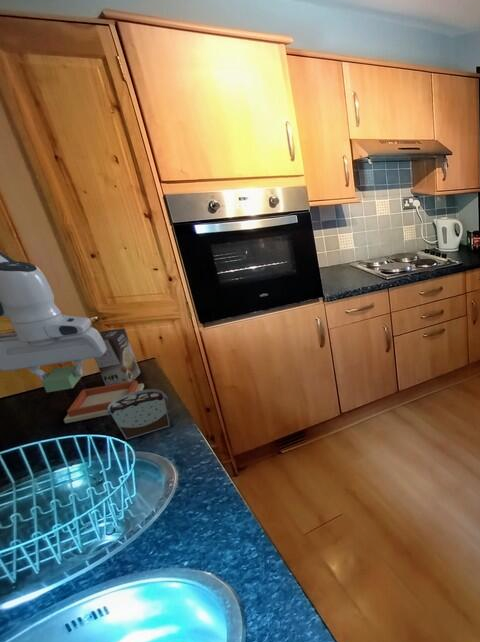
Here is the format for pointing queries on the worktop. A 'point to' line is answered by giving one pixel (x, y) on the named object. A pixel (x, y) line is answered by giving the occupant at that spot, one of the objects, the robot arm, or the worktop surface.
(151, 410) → the food container
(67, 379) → the green pad
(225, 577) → the worktop surface
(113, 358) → the coffee box
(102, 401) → the orange tray
